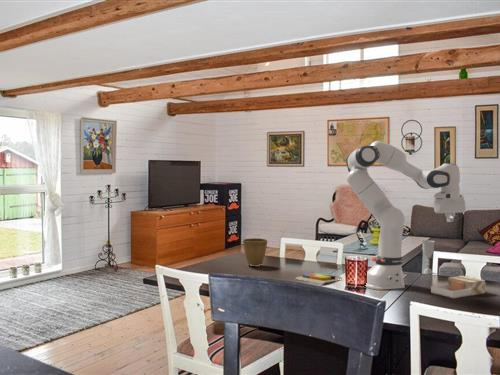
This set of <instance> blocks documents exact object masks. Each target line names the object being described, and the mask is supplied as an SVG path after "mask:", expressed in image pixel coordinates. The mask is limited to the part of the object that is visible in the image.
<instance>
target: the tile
mask: <svg viewBox="0 0 500 375" xmlns="http://www.w3.org/2000/svg"><path fill="white" fill-rule="evenodd" d="M463 289H464V282H461V281H456V280H452V281H451V291H457V290H463Z"/></svg>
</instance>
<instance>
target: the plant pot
mask: <svg viewBox="0 0 500 375" xmlns="http://www.w3.org/2000/svg"><path fill="white" fill-rule="evenodd" d="M242 246H243V251H244V254H245V258H246V261H247V264H252V265H259V264H262V265H263V262H264V258H265V255H266V250H267V246H268V239H266V238H255V237H252V238H244V239H242Z"/></svg>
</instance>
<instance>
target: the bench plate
mask: <svg viewBox="0 0 500 375" xmlns="http://www.w3.org/2000/svg"><path fill="white" fill-rule="evenodd" d="M452 280H456V281H461V282H464V289H471V296H476V295H481V294H485V293H486V292H485V291H486V288H485V287H486V280H485V279H480V278H476V277H471V276H468V275H467V276H466V275H458V276H457V275H456V276H450V277H448V282H447V284H450V290H451V281H452Z"/></svg>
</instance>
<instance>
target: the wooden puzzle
mask: <svg viewBox="0 0 500 375" xmlns="http://www.w3.org/2000/svg"><path fill="white" fill-rule="evenodd" d="M296 279H298V280H304V281H309V282H312V283H316V284H315V285H318V284H322V285H321V286H324V285H325V284H329V283H335V282H334V281H337V282H339V281H338V279H339V280H340V279H342V280H343V278H342V276H340V275H334V274H329V273H328V274H326V273H321V272H320V273H319V272H315V273H314V272H313V273H303V274H302V276H297V277H296V278H295V280H296ZM340 281H341V280H340ZM318 286H319V285H318Z"/></svg>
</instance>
